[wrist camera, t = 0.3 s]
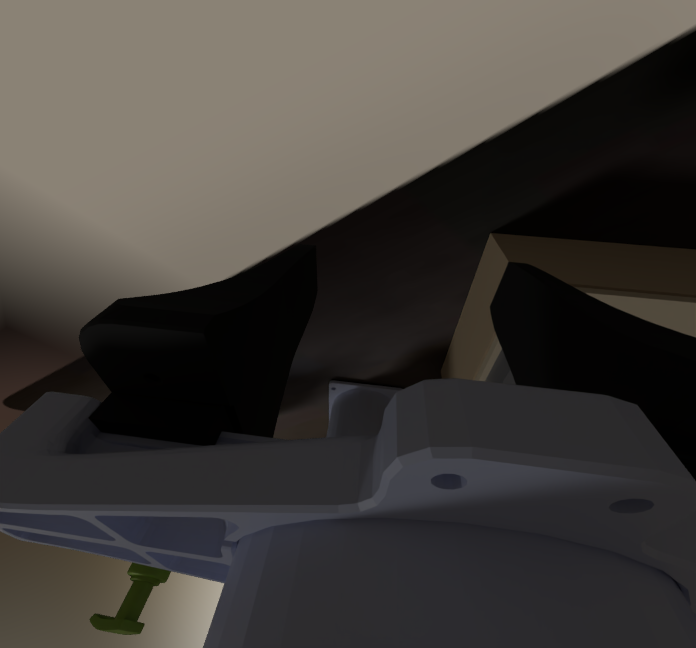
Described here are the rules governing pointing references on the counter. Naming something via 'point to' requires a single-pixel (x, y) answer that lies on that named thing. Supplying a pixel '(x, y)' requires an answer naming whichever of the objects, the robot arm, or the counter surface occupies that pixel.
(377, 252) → the counter surface
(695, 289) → the carton
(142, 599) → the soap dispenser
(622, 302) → the carton lid
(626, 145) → the counter surface
